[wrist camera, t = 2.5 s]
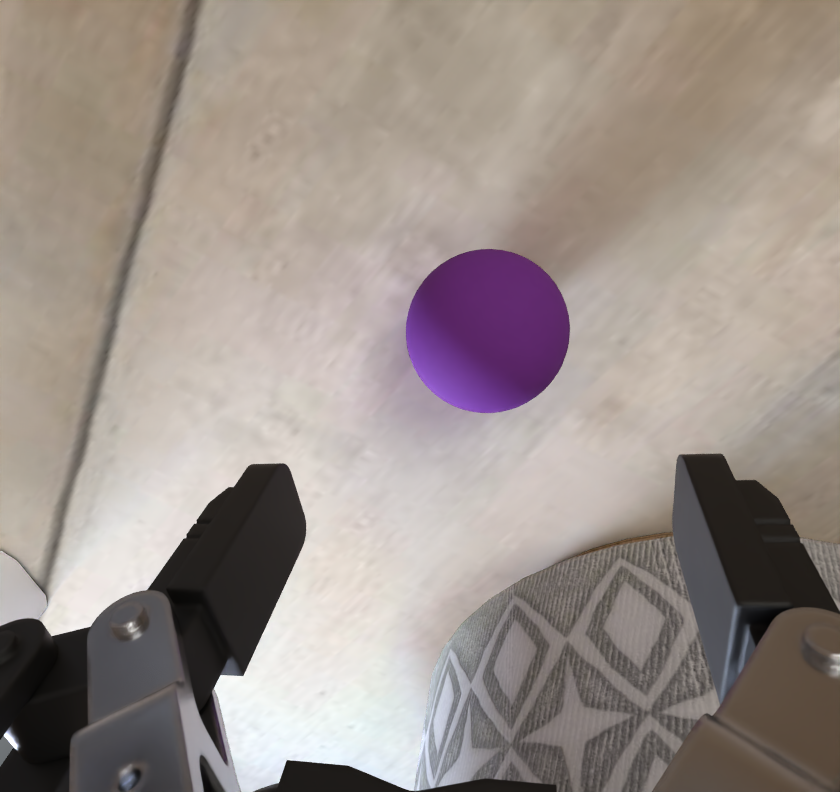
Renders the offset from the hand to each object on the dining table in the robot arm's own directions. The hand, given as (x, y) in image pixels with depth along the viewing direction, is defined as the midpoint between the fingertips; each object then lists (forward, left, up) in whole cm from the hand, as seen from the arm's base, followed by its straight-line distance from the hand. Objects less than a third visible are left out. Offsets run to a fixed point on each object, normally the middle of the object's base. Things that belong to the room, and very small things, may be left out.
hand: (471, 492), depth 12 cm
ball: (0, 0, -8) cm, 8 cm away
